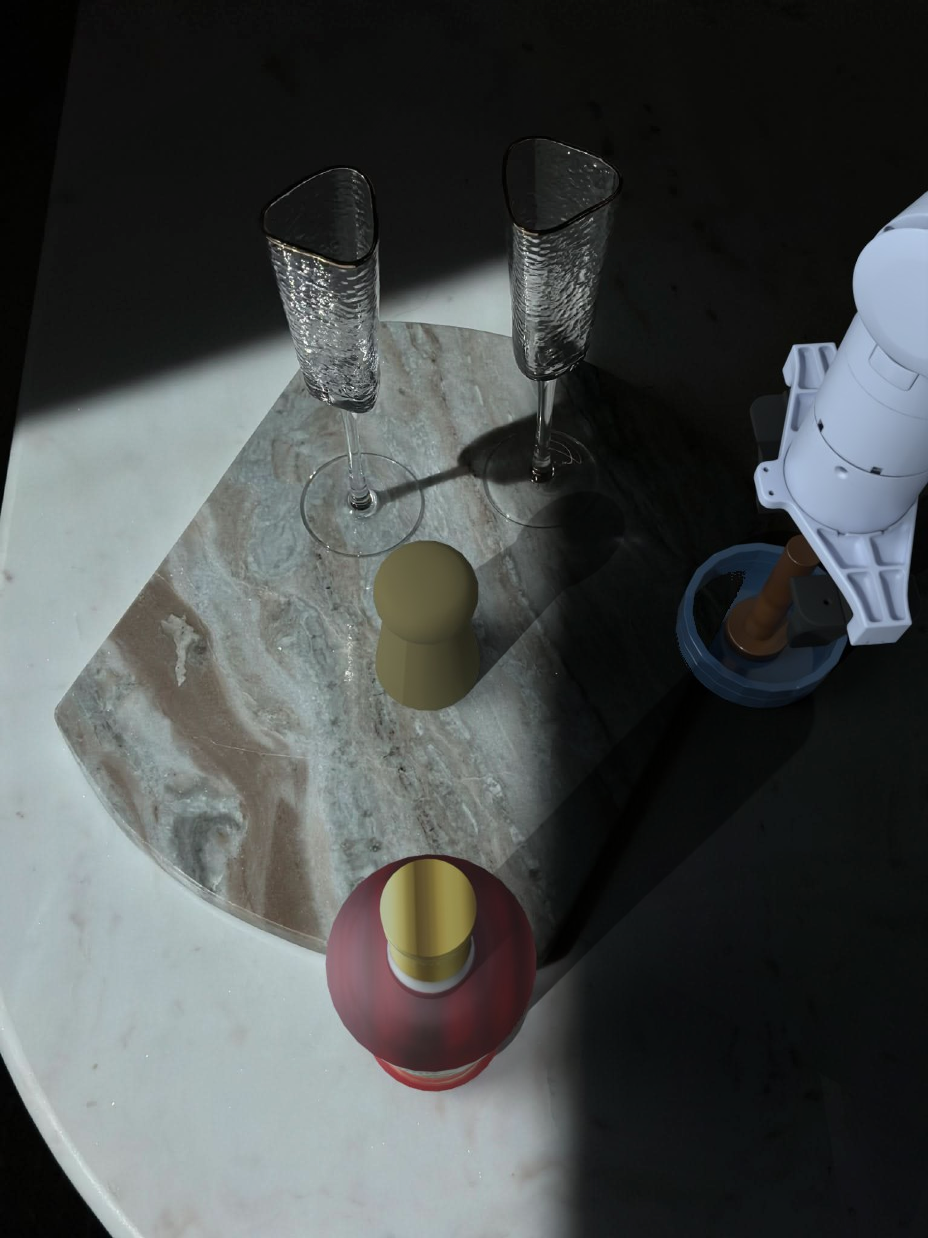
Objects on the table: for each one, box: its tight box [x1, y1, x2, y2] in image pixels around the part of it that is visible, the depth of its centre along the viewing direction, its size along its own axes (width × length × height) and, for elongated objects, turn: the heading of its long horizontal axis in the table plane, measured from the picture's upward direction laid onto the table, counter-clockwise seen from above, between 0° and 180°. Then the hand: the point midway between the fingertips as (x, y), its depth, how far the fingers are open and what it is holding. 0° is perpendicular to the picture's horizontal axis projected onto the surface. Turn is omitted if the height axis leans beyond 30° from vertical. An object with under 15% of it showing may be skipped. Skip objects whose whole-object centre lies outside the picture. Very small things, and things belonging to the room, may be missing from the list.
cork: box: [372, 539, 481, 712], centre depth 60 cm, size 6×6×11 cm
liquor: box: [325, 853, 537, 1093], centre depth 44 cm, size 7×7×28 cm
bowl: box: [675, 542, 849, 709], centre depth 65 cm, size 9×9×3 cm
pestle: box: [724, 533, 821, 662], centre depth 61 cm, size 4×4×10 cm
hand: (791, 571), depth 59 cm, fingers open, 7 cm apart
